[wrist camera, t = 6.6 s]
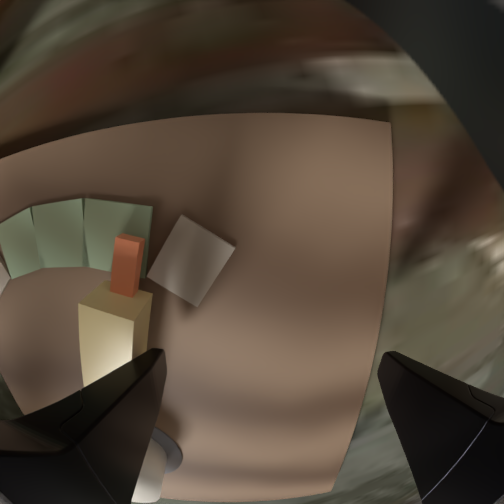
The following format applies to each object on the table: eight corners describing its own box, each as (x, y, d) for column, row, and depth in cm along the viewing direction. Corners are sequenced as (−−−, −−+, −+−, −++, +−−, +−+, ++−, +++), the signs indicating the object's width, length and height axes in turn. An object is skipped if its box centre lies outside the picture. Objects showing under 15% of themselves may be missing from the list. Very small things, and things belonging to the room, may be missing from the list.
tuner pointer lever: (165, 475, 12) (158, 517, 9) (95, 454, 12) (81, 492, 9) (201, 249, 9) (184, 286, 6) (81, 220, 8) (24, 240, 5)
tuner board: (327, 479, 15) (331, 493, 14) (72, 465, 14) (67, 477, 13) (375, 127, 10) (393, 122, 8) (-31, 177, 9) (-48, 179, 7)
